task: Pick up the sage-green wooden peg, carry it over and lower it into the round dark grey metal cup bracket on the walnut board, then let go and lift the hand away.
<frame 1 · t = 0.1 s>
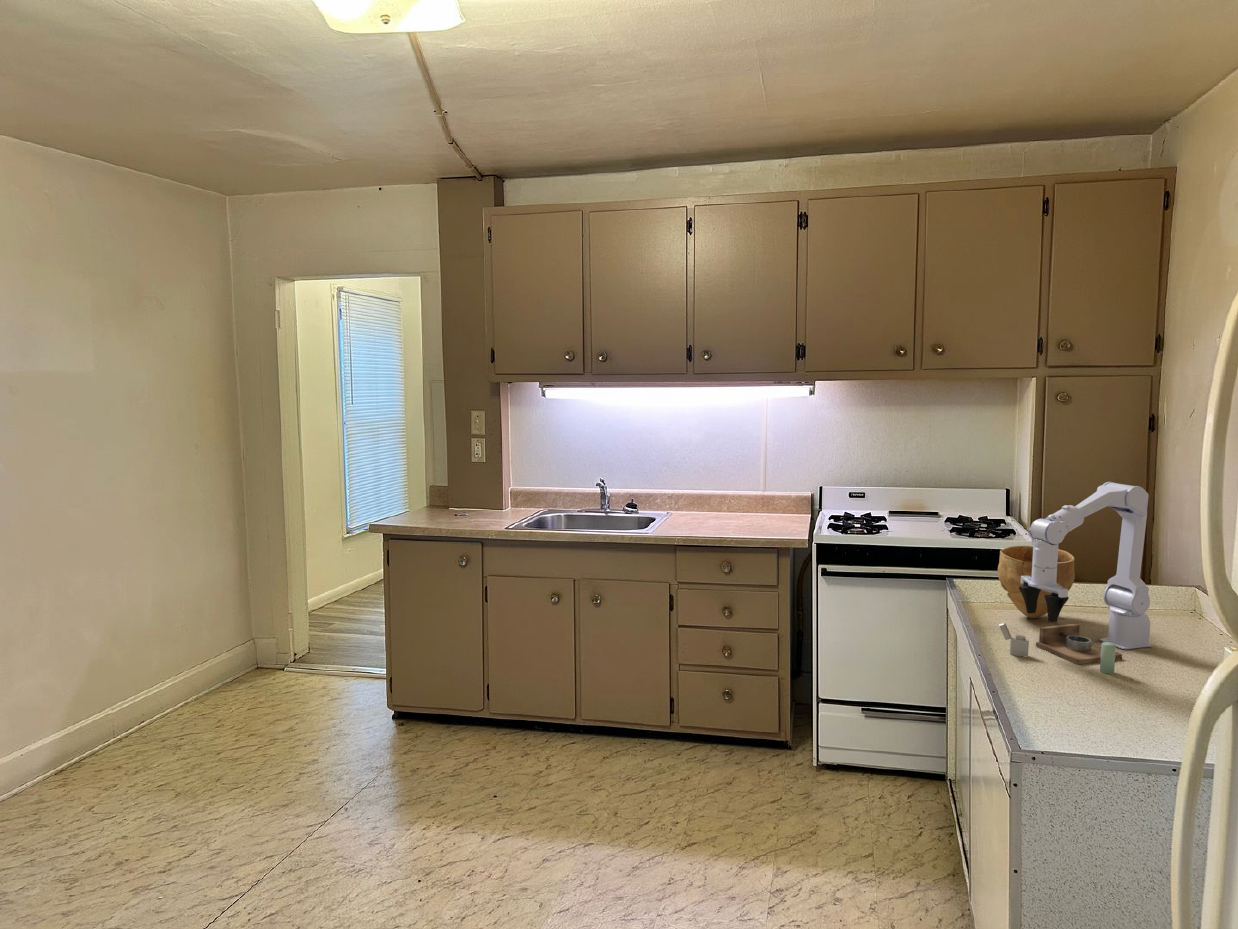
hand: (1041, 617, 215), 10 cm above the table, tool pointing down, fingers open, 7 cm apart
peg: (1106, 672, 204), on the table
bowl: (1032, 618, 247), on the table
lighter: (1012, 654, 216), on the table
cup bracket: (1077, 652, 217), on the table
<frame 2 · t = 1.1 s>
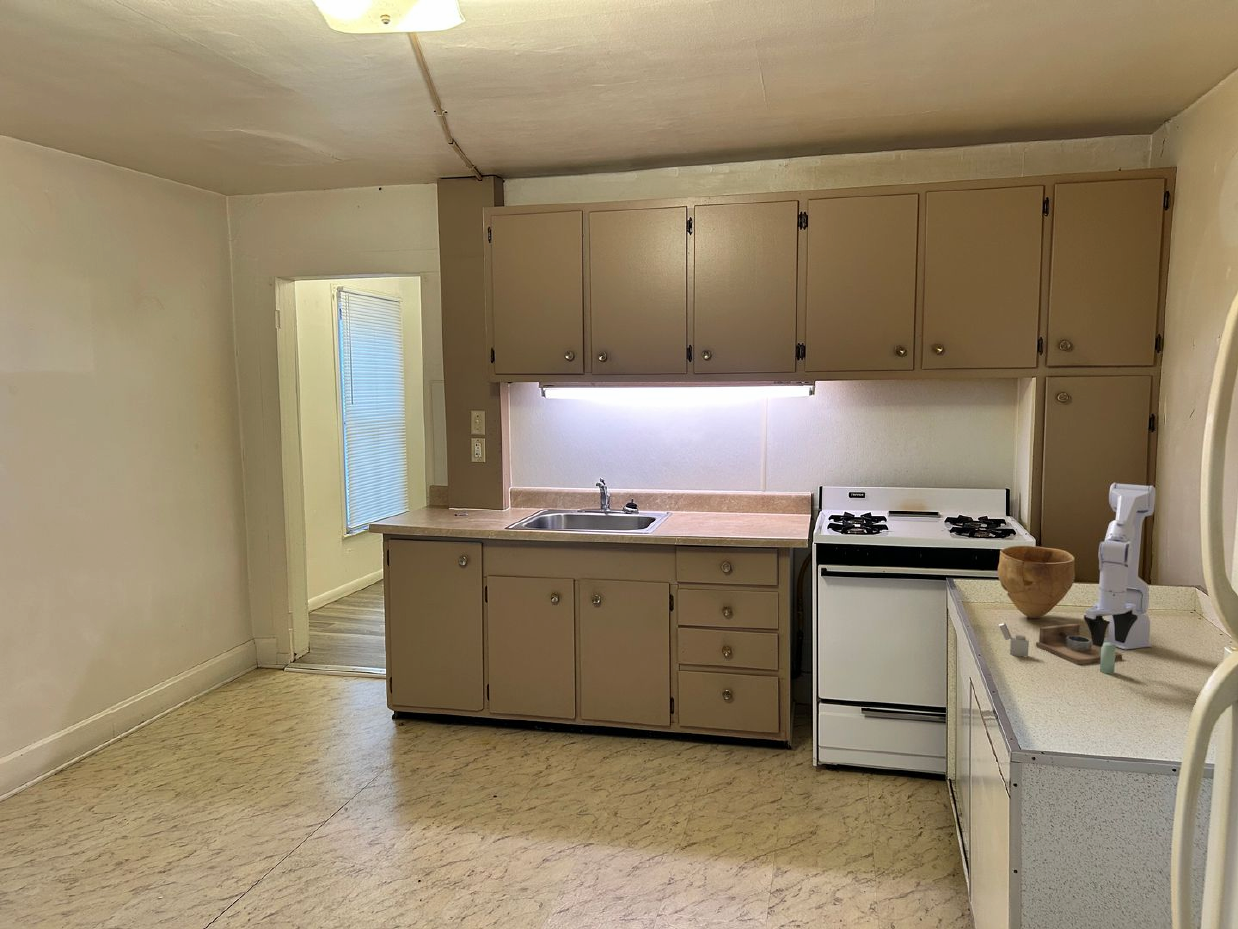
hand: (1108, 643, 203), 7 cm above the table, tool pointing down, fingers open, 7 cm apart
nothing on the table moved.
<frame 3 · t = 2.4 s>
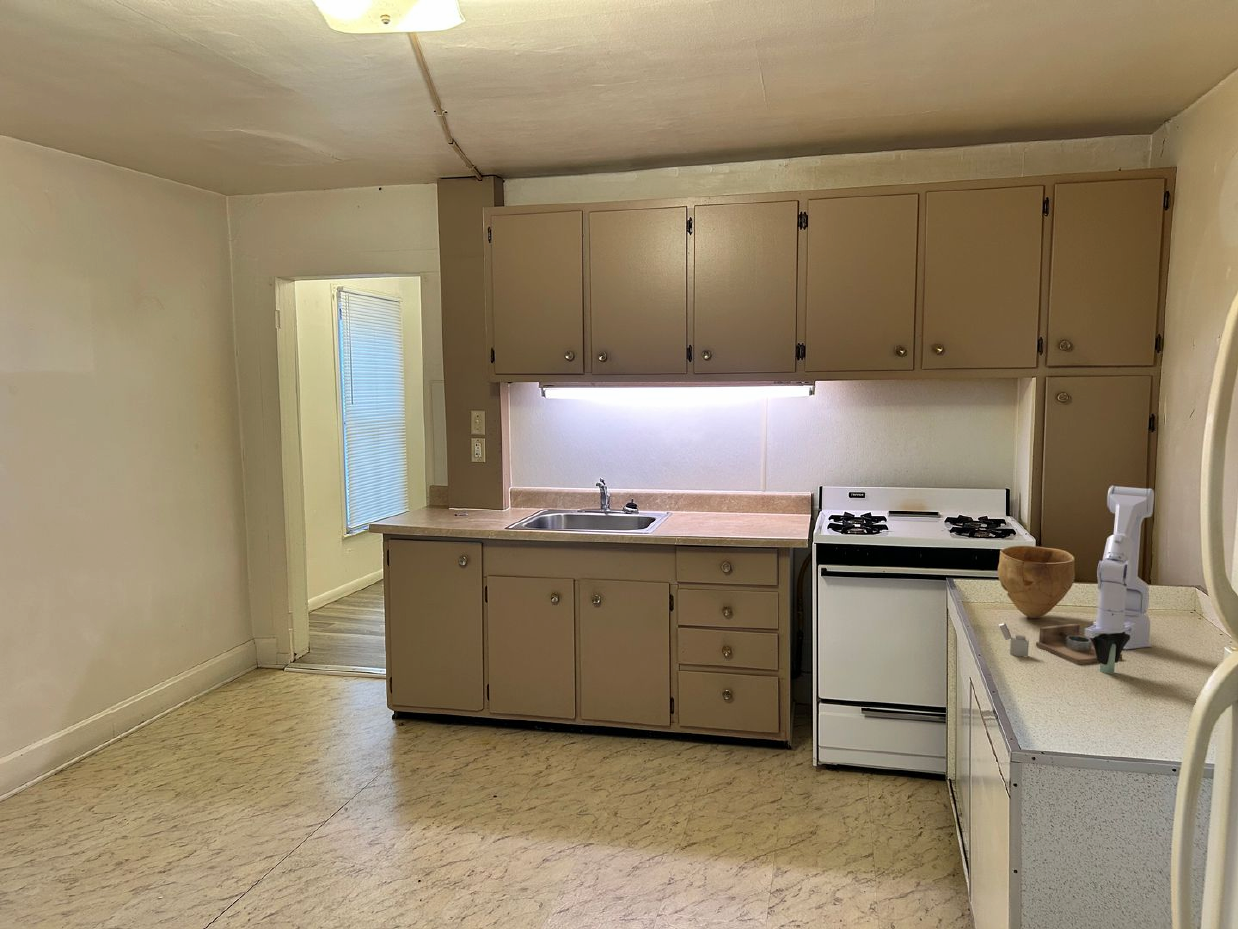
hand: (1107, 662, 203), 2 cm above the table, tool pointing down, fingers closed on peg, 3 cm apart
peg: (1106, 671, 204), on the table, touching gripper
everything else where it was.
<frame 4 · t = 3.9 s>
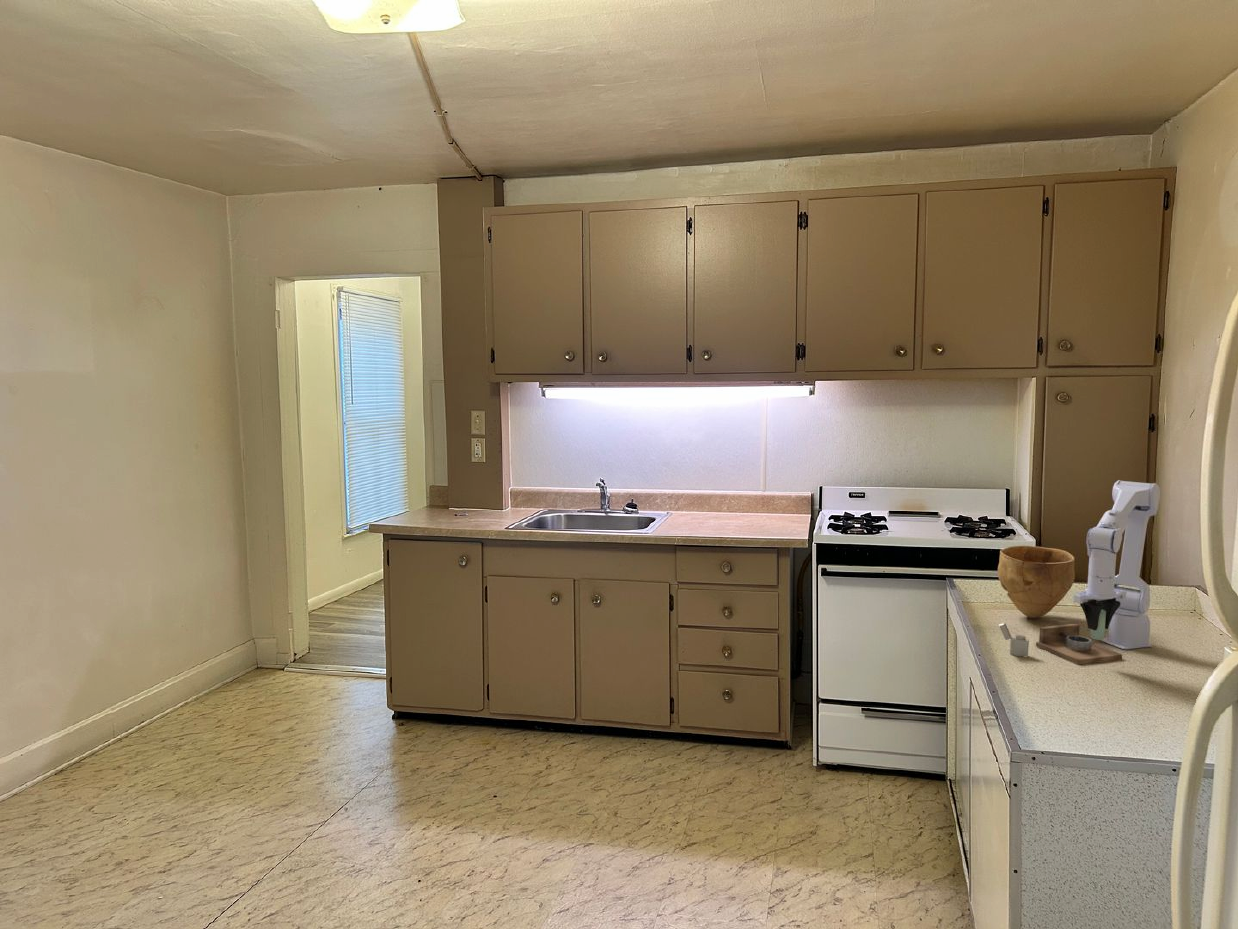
hand: (1097, 628, 208), 9 cm above the table, tool pointing down, fingers closed on peg, 3 cm apart
peg: (1097, 637, 208), point 7 cm above the table, touching gripper
everything else where it was.
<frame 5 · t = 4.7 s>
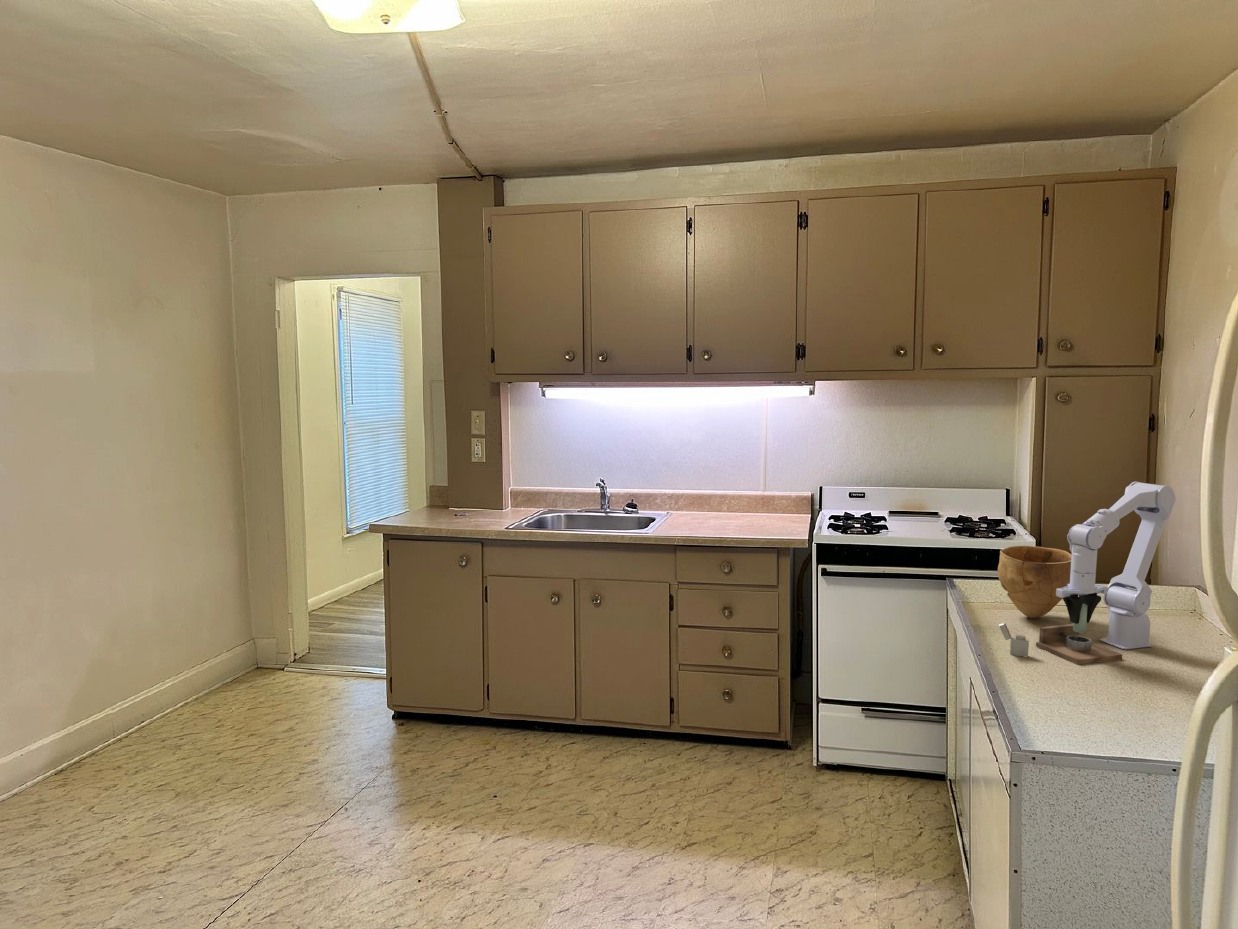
hand: (1079, 622, 216), 8 cm above the table, tool pointing down, fingers closed on peg, 3 cm apart
peg: (1079, 631, 216), point 6 cm above the table, touching gripper
everything else where it was.
when the fingers open (5 cm above the table, at t = 5.5 s): peg stays where it is, resting on cup bracket.
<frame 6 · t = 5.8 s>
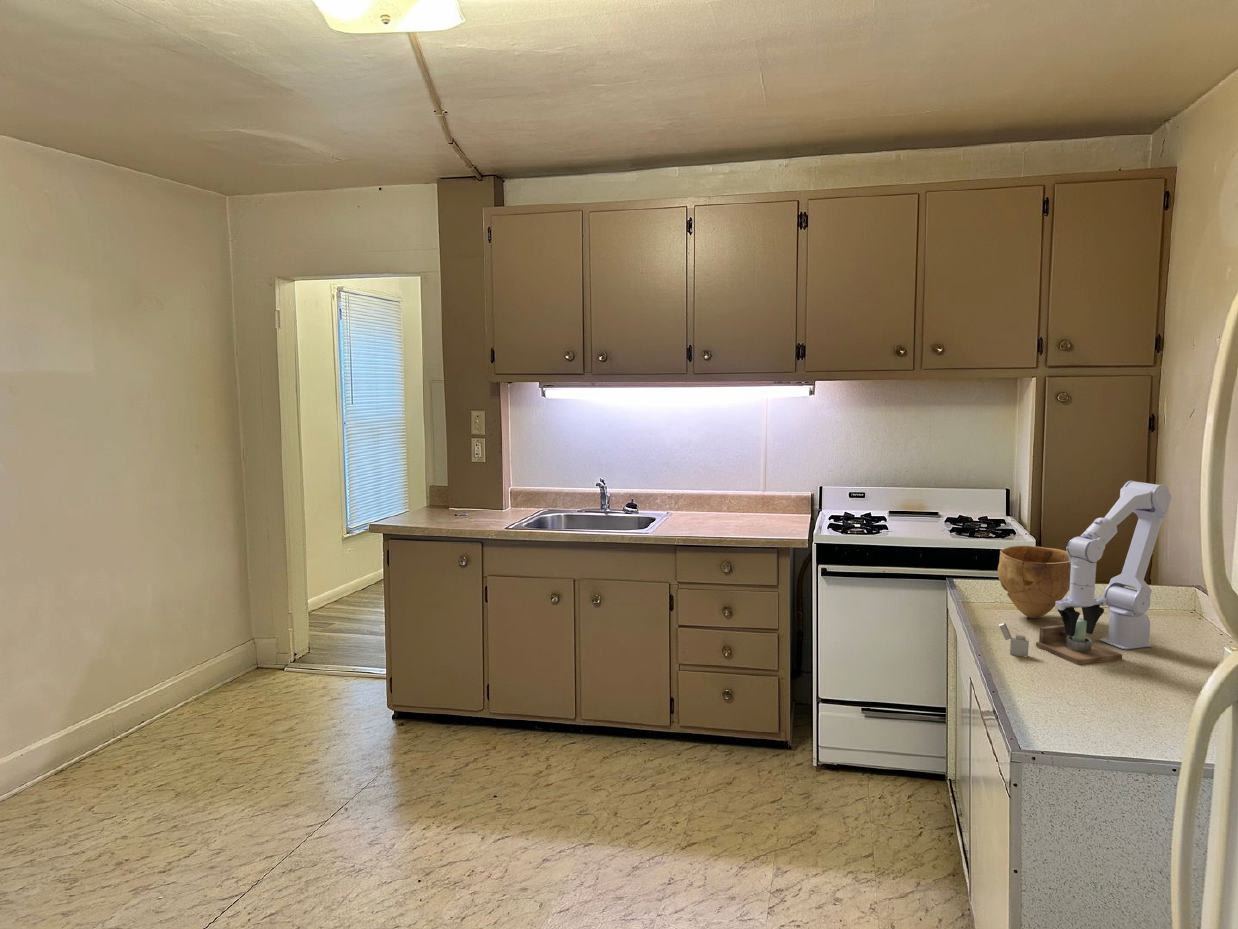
hand: (1079, 634, 217), 5 cm above the table, tool pointing down, fingers open, 5 cm apart
peg: (1078, 646, 217), point 2 cm above the table, touching cup bracket
everything else where it was.
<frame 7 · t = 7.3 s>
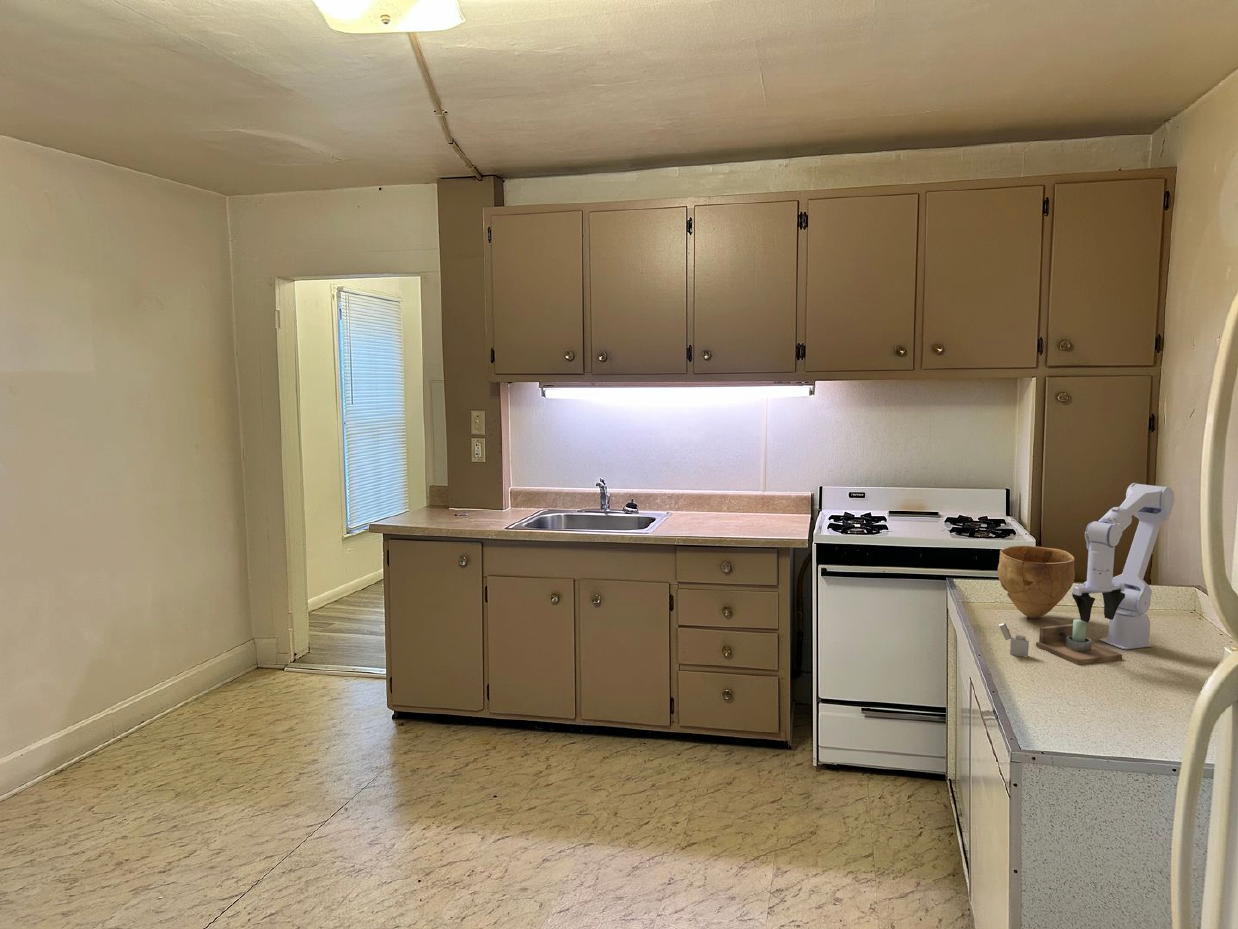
hand: (1096, 620, 214), 9 cm above the table, tool pointing down, fingers open, 7 cm apart
nothing on the table moved.
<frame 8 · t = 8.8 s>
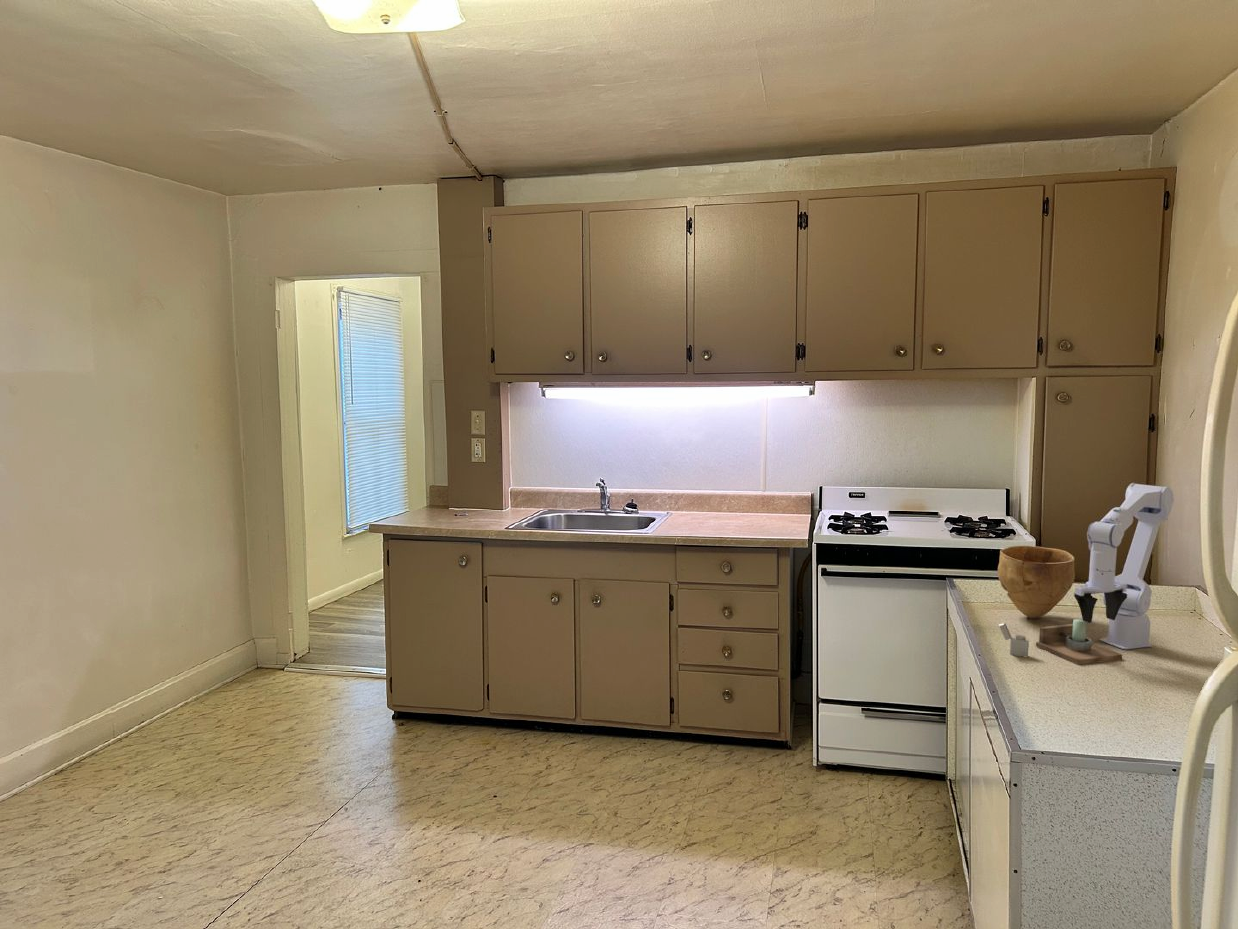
hand: (1098, 620, 214), 9 cm above the table, tool pointing down, fingers open, 7 cm apart
nothing on the table moved.
at the end: peg 0.0 cm off-centre on the cup bracket, point 1.6 cm above the cup bracket's base; peg tilted 0°; the gripper is holding nothing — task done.
